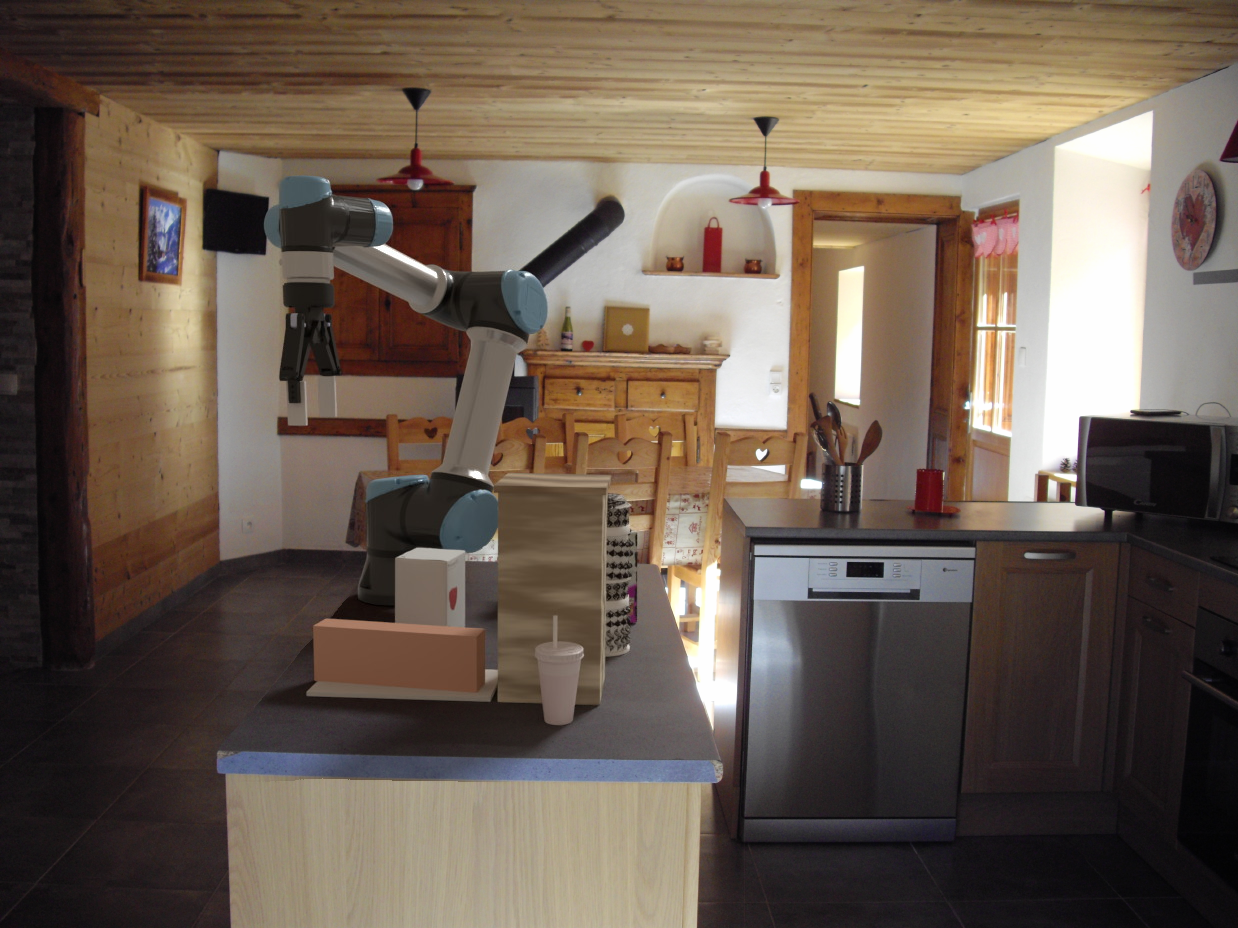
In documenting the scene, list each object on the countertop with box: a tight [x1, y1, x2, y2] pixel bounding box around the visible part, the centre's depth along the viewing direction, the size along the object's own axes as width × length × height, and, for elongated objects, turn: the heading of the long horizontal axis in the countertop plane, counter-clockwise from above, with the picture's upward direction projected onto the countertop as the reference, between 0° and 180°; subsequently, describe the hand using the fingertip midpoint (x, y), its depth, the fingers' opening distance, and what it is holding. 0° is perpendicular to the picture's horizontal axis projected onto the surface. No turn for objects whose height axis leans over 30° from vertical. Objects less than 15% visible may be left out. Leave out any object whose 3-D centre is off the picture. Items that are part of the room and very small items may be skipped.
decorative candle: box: [605, 492, 634, 658], centre depth 167 cm, size 9×9×25 cm
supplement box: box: [394, 548, 466, 628], centre depth 169 cm, size 9×9×15 cm
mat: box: [306, 668, 498, 703], centre depth 150 cm, size 12×26×1 cm, turn 87°
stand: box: [493, 472, 612, 706], centre depth 147 cm, size 13×15×30 cm
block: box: [312, 618, 486, 693], centre depth 148 cm, size 4×24×8 cm, turn 80°
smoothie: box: [535, 615, 584, 726], centre depth 136 cm, size 6×6×14 cm
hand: (313, 421), depth 162 cm, fingers open, 13 cm apart
